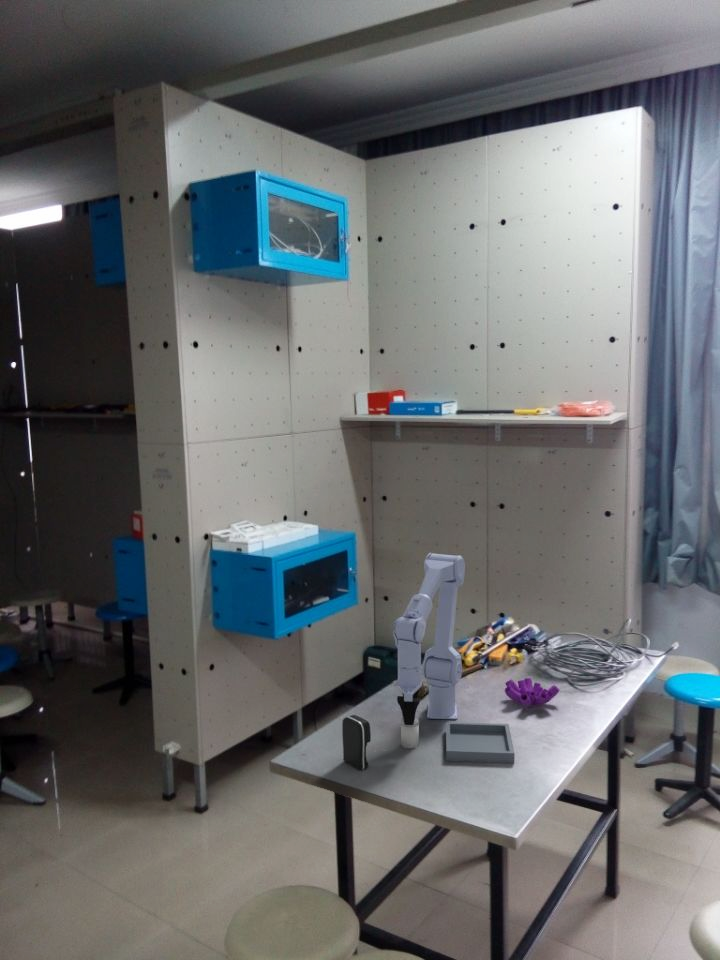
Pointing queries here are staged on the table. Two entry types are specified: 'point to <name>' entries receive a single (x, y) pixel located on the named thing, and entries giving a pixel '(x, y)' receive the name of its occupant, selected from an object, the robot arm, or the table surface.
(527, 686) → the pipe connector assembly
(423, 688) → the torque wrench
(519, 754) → the table surface
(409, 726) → the cylinder
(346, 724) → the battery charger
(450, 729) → the tray
